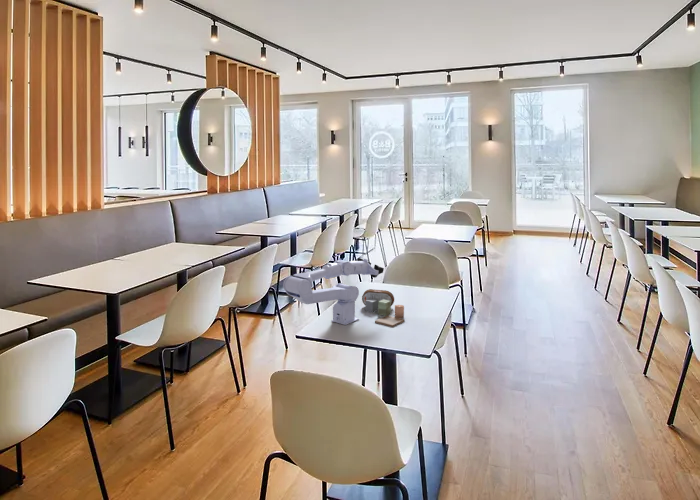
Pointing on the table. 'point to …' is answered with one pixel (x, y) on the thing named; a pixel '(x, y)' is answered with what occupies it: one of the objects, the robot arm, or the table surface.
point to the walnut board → (389, 321)
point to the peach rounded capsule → (399, 311)
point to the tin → (377, 295)
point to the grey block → (371, 305)
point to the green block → (384, 307)
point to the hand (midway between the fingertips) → (376, 267)
